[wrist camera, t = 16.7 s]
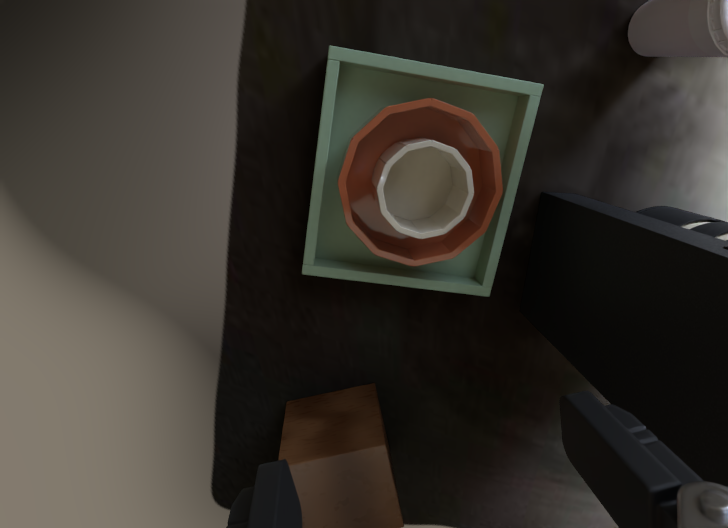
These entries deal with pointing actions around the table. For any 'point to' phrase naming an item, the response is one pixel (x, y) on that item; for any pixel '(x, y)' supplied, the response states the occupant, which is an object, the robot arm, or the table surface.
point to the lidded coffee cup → (680, 28)
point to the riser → (341, 460)
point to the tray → (395, 86)
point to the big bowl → (428, 123)
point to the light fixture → (640, 315)
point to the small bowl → (422, 187)
